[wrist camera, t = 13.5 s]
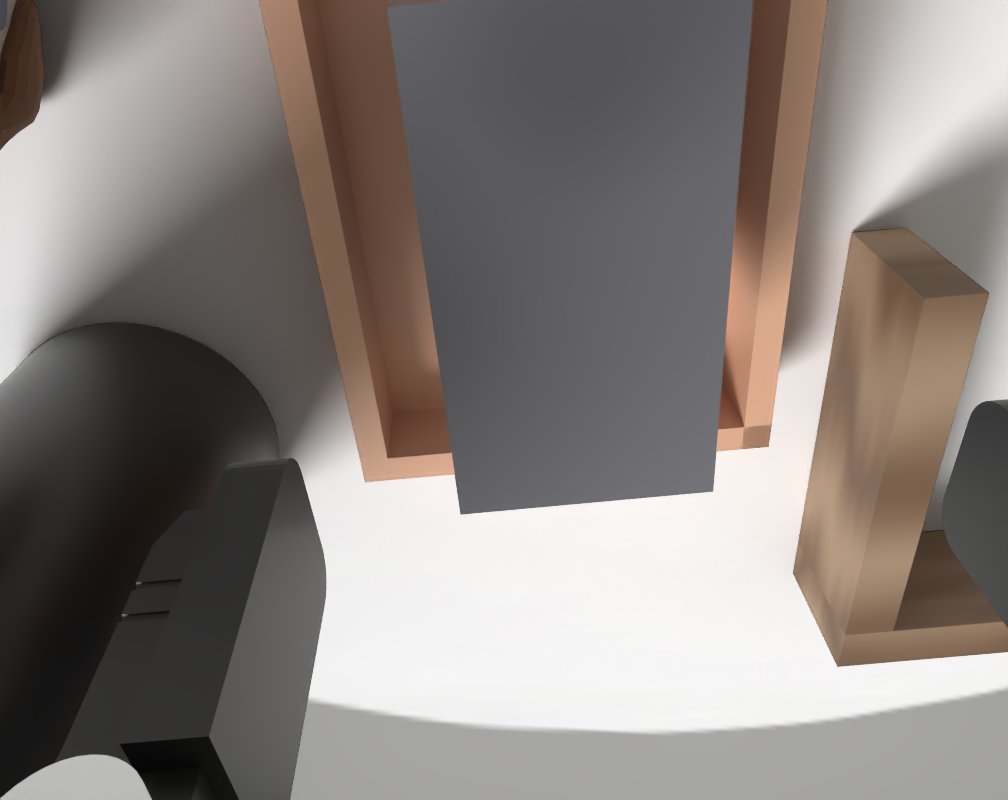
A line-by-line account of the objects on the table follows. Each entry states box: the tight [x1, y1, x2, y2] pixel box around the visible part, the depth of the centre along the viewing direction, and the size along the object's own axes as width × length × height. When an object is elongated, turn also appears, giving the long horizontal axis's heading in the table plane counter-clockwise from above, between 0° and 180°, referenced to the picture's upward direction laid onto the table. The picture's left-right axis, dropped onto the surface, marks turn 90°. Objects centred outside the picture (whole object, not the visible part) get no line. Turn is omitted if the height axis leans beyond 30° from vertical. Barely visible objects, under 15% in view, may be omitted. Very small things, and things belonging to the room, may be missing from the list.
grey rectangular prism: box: [387, 0, 753, 514], centre depth 18 cm, size 10×6×8 cm, turn 5°
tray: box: [259, 0, 828, 482], centre depth 21 cm, size 17×12×3 cm
